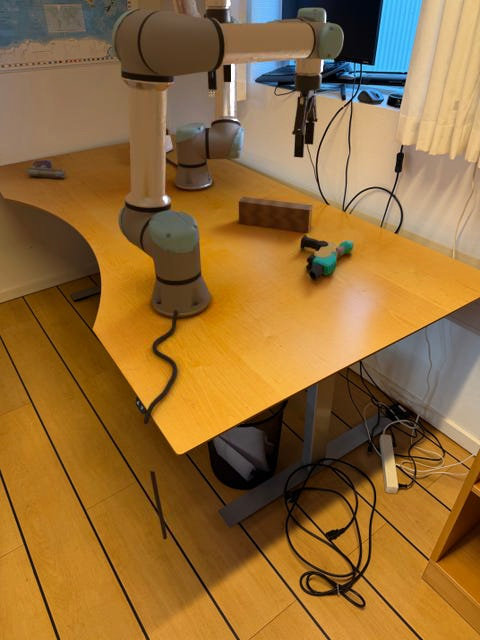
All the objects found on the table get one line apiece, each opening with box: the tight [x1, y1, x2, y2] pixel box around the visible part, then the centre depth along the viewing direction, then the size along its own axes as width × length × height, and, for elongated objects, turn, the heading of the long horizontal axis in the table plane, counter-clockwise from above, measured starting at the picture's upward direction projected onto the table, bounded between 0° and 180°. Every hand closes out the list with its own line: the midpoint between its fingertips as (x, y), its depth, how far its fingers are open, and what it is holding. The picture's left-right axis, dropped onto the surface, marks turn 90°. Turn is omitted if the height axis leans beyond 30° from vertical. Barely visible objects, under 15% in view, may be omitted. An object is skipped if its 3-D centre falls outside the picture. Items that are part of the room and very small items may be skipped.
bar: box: [238, 196, 314, 233], centre depth 161 cm, size 24×4×8 cm, turn 71°
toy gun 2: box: [299, 234, 355, 282], centre depth 140 cm, size 4×26×15 cm
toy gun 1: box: [26, 159, 67, 179], centre depth 208 cm, size 4×19×15 cm
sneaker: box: [166, 127, 174, 153], centre depth 224 cm, size 10×29×12 cm, turn 163°
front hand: (303, 150), depth 146 cm, fingers open, 13 cm apart
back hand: (220, 85), depth 155 cm, fingers open, 13 cm apart
